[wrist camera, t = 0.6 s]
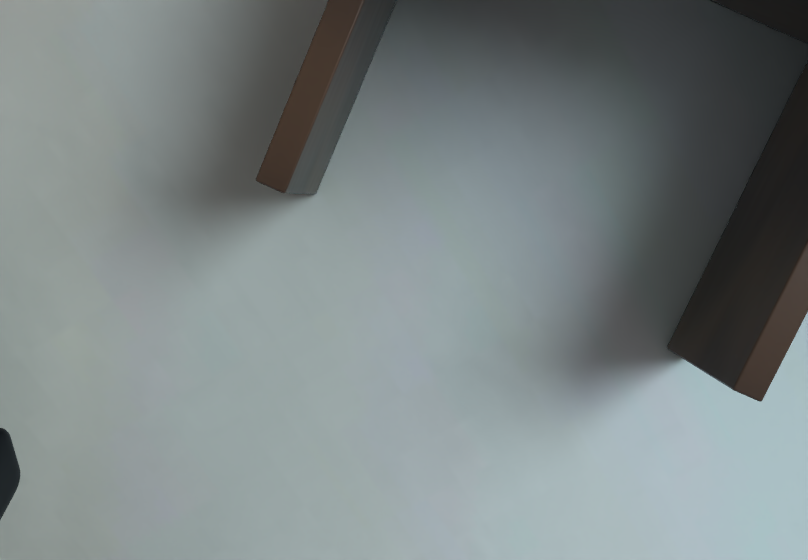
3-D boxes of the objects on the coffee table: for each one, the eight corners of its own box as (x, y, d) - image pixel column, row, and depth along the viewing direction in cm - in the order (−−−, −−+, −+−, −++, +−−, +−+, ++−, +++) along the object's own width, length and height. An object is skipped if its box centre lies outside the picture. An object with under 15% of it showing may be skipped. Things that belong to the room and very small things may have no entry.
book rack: (688, 358, 23) (828, 443, 15) (292, 184, 23) (219, 177, 15) (850, 32, 22) (1096, -63, 14) (431, -155, 21) (435, -363, 13)
